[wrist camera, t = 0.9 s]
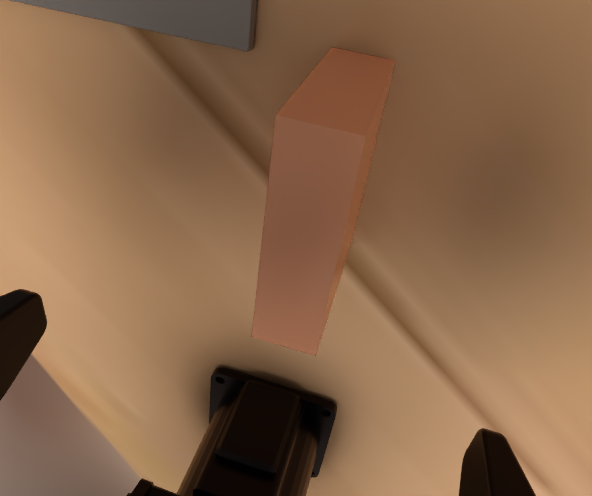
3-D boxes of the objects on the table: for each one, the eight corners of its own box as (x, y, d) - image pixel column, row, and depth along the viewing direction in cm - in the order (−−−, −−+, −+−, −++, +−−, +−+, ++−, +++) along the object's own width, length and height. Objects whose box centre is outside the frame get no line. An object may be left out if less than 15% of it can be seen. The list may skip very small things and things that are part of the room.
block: (351, 243, 20) (315, 355, 15) (301, 230, 20) (251, 336, 15) (395, 60, 15) (365, 136, 11) (331, 46, 16) (275, 115, 11)
